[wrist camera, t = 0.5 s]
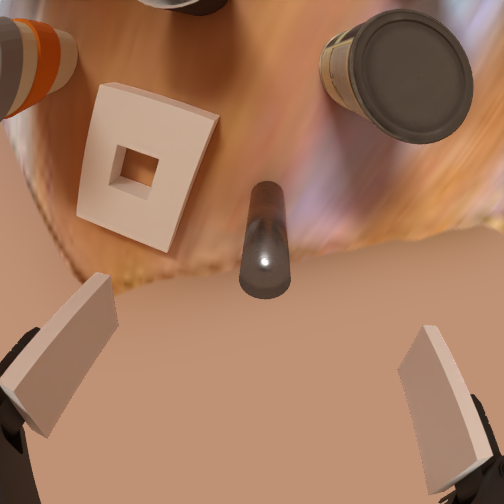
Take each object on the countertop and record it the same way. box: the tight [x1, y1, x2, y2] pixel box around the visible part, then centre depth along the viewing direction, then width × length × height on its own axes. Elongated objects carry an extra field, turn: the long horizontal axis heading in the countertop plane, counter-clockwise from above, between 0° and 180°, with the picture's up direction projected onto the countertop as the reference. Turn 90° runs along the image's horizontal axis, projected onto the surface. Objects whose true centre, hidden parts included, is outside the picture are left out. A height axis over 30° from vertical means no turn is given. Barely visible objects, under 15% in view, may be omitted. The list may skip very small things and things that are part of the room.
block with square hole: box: [76, 82, 220, 253], centre depth 33 cm, size 18×14×4 cm
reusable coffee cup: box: [0, 17, 78, 122], centre depth 20 cm, size 12×12×15 cm
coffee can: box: [319, 9, 473, 144], centre depth 21 cm, size 10×10×14 cm
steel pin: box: [239, 181, 291, 299], centre depth 30 cm, size 4×4×16 cm
